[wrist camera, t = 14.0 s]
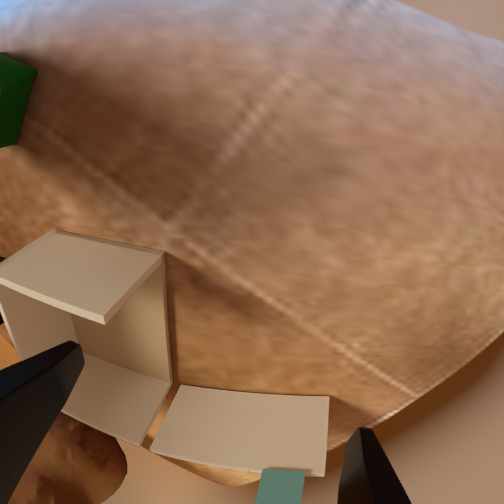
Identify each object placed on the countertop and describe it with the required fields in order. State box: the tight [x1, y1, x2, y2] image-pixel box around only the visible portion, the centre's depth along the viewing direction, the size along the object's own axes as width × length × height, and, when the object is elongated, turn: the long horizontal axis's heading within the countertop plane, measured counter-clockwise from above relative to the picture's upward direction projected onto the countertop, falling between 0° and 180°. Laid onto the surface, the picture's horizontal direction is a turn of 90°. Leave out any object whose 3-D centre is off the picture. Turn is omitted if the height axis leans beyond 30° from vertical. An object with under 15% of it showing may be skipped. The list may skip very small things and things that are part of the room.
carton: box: [0, 229, 173, 447], centre depth 23 cm, size 11×14×8 cm
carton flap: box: [149, 385, 329, 504], centre depth 22 cm, size 1×14×11 cm, turn 95°
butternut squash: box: [8, 412, 127, 504], centre depth 26 cm, size 14×13×25 cm
